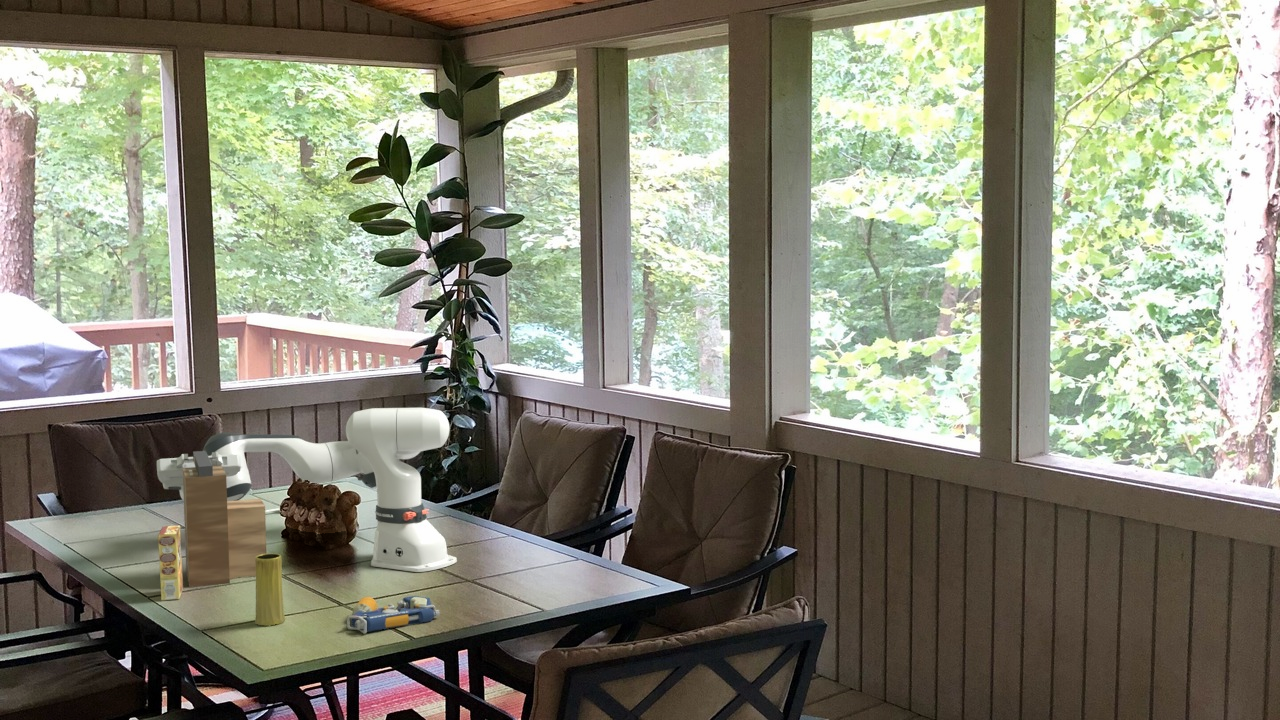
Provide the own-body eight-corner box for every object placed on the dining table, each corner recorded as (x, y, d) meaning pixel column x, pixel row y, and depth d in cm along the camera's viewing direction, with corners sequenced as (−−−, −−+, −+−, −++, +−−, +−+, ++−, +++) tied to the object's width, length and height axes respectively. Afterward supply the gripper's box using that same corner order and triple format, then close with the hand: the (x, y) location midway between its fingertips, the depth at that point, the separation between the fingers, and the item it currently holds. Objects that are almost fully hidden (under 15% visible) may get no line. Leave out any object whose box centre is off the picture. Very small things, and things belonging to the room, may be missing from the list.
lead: (193, 461, 307) (192, 451, 306) (206, 460, 308) (205, 450, 308) (199, 476, 285) (198, 466, 284) (212, 475, 286) (212, 465, 286)
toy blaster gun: (329, 620, 261) (356, 639, 248) (329, 600, 260) (357, 618, 248) (418, 605, 273) (448, 623, 261) (418, 587, 272) (449, 604, 260)
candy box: (180, 599, 275) (177, 533, 274) (160, 601, 274) (157, 534, 273) (183, 589, 284) (181, 524, 283) (164, 590, 283) (161, 526, 281)
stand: (186, 572, 299) (182, 467, 296) (262, 565, 306) (259, 461, 303) (189, 587, 286) (185, 476, 283) (269, 578, 293) (265, 471, 291)
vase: (288, 617, 262) (286, 552, 260) (280, 626, 256) (278, 559, 254) (259, 617, 261) (257, 552, 260) (251, 626, 255) (249, 559, 254)
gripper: (240, 483, 319) (244, 464, 307) (157, 489, 311) (157, 470, 299) (239, 461, 321) (242, 441, 310) (155, 466, 313) (156, 446, 302)
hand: (200, 455), depth 305 cm, fingers open, 6 cm apart
